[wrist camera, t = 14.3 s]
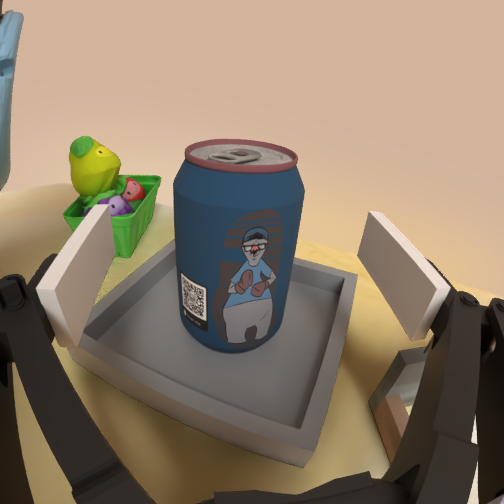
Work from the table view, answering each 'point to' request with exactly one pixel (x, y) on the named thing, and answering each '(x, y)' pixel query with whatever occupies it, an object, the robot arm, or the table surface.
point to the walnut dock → (397, 396)
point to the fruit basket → (110, 193)
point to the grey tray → (225, 359)
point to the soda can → (235, 240)
